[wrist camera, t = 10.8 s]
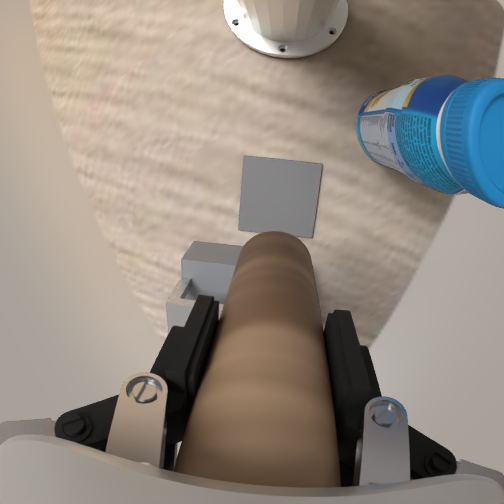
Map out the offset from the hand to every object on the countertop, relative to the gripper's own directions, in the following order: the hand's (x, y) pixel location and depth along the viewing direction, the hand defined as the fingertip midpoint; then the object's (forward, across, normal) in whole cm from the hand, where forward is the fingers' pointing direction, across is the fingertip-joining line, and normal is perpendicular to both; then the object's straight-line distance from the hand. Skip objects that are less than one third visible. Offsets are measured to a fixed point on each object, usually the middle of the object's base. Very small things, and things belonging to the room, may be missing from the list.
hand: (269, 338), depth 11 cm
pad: (+23, 0, 0) cm, 23 cm away
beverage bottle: (+23, -11, -9) cm, 27 cm away
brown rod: (+6, 0, 0) cm, 6 cm away
